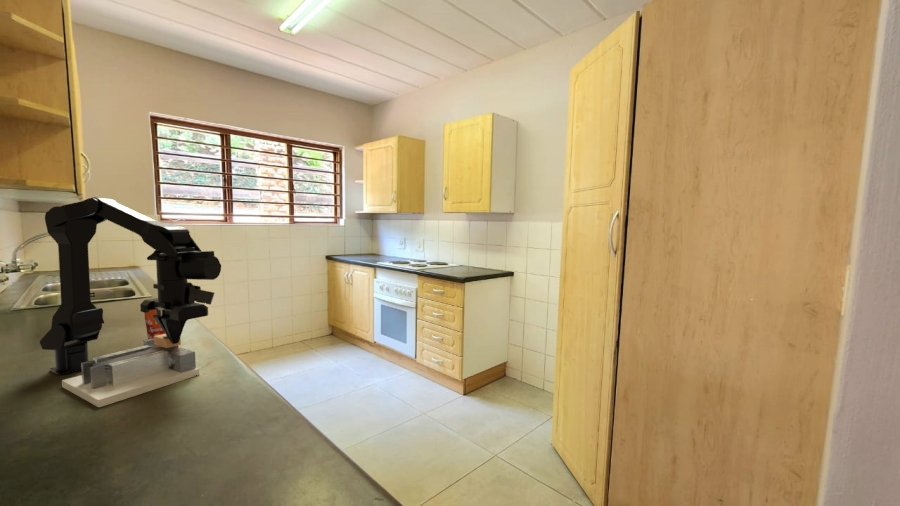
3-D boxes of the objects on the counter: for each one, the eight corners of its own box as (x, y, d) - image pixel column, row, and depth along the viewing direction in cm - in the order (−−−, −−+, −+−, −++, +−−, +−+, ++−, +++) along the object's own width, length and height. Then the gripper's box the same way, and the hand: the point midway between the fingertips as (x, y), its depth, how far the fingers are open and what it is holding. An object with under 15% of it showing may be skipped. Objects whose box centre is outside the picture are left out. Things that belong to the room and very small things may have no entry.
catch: (154, 344, 89) (153, 333, 88) (168, 340, 91) (167, 330, 91) (166, 348, 86) (166, 337, 86) (180, 344, 88) (180, 334, 88)
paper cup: (141, 355, 99) (138, 304, 98) (148, 347, 105) (146, 299, 104) (176, 351, 102) (174, 302, 101) (181, 343, 109) (179, 297, 108)
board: (62, 386, 79) (61, 380, 79) (159, 360, 95) (159, 355, 95) (98, 407, 70) (98, 400, 70) (199, 374, 86) (199, 368, 86)
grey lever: (92, 368, 77) (91, 364, 77) (172, 346, 91) (172, 343, 91) (98, 370, 76) (97, 367, 76) (178, 348, 89) (178, 345, 89)
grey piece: (72, 378, 80) (70, 356, 79) (159, 355, 94) (158, 336, 94) (106, 395, 72) (104, 371, 71) (195, 368, 86) (194, 347, 86)
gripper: (229, 278, 88) (231, 340, 89) (189, 273, 97) (191, 329, 98) (178, 283, 78) (181, 353, 79) (137, 277, 87) (141, 340, 88)
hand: (175, 343), depth 87 cm, fingers closed
